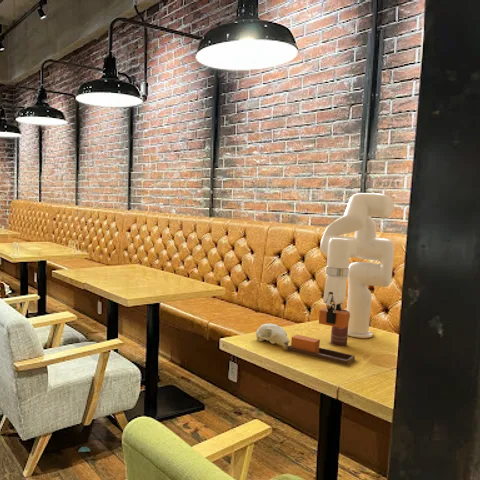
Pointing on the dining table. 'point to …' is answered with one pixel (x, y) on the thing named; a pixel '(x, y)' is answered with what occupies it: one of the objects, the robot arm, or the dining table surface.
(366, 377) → the dining table surface
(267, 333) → the animal skull
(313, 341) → the back pad left
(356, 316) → the robot arm
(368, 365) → the dining table surface
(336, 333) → the can
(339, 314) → the back pad right
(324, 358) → the frame
